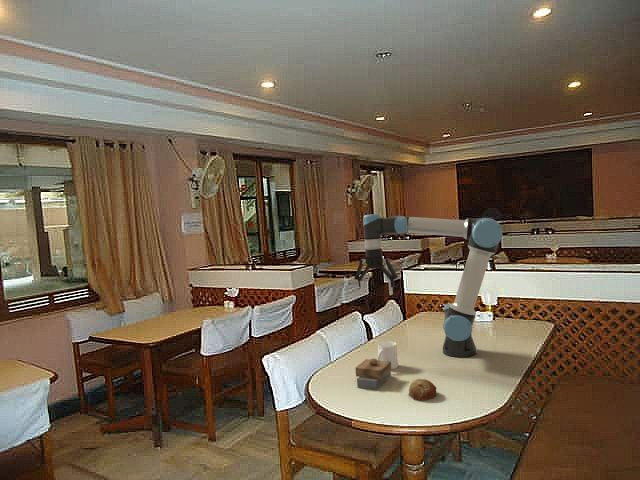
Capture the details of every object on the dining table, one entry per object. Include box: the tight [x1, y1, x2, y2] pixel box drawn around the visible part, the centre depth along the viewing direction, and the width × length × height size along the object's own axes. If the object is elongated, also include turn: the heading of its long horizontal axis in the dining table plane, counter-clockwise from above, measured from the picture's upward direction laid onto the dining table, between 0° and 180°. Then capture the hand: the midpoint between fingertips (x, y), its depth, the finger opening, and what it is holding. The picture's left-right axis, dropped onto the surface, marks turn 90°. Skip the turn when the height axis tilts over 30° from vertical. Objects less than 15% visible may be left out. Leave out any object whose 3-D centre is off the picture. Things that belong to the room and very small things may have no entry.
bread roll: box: [408, 378, 437, 402], centre depth 175 cm, size 10×10×8 cm
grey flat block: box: [356, 371, 392, 391], centre depth 192 cm, size 8×16×4 cm, turn 151°
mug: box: [377, 341, 399, 371], centre depth 206 cm, size 12×8×10 cm
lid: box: [355, 358, 392, 379], centre depth 192 cm, size 11×11×6 cm
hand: (377, 294), depth 216 cm, fingers open, 13 cm apart
